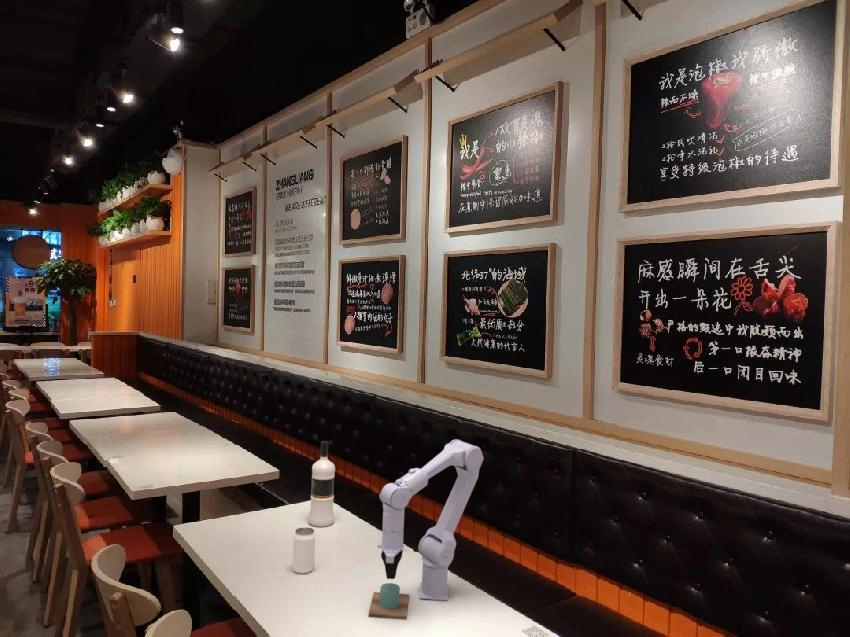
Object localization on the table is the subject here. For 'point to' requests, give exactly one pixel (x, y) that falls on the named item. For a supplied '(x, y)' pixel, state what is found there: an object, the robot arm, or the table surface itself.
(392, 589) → the cap
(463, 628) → the table surface
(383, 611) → the stud board
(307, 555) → the can
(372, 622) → the table surface
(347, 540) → the table surface
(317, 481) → the vodka
